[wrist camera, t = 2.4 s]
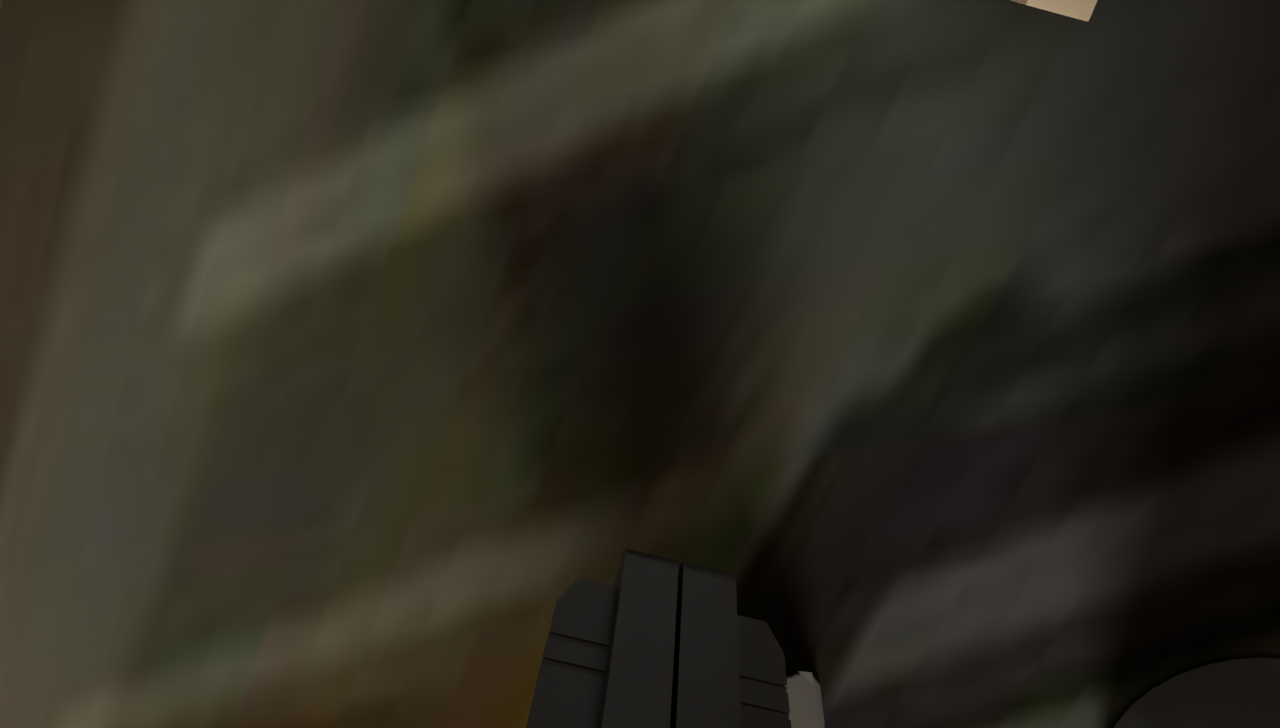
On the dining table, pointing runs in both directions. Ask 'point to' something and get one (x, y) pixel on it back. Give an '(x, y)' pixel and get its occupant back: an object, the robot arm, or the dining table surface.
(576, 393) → the dining table surface
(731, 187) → the dining table surface
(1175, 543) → the dining table surface
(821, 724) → the tall pale column
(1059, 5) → the bay
